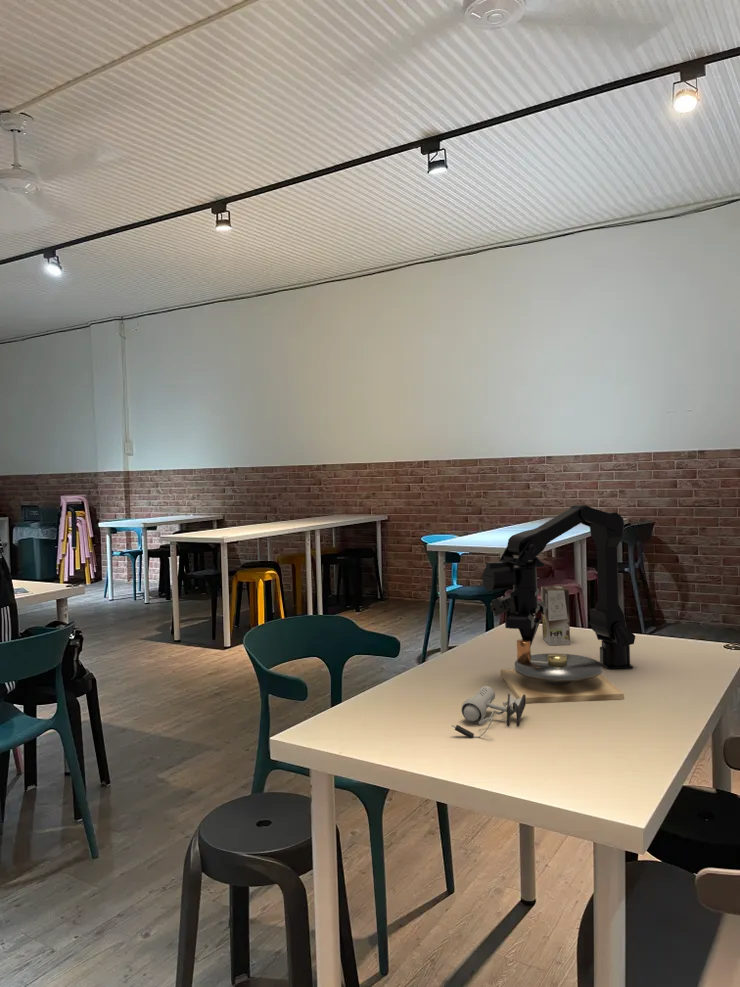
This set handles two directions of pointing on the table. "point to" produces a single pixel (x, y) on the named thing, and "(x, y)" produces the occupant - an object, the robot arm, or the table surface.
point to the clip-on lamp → (481, 701)
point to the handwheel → (554, 665)
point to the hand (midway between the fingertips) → (527, 649)
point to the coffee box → (556, 615)
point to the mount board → (560, 689)
